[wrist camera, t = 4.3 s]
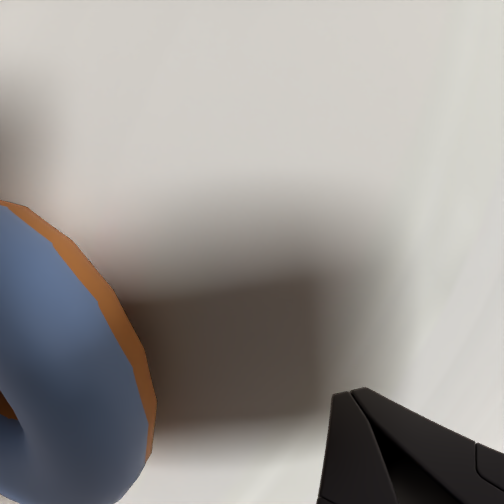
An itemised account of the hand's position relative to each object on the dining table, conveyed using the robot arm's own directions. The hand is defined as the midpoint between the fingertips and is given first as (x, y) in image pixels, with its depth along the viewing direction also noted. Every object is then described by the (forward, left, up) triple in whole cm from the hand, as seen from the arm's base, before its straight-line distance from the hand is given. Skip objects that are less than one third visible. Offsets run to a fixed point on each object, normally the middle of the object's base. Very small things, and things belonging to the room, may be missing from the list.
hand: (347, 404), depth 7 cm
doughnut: (+9, 0, -2) cm, 10 cm away
